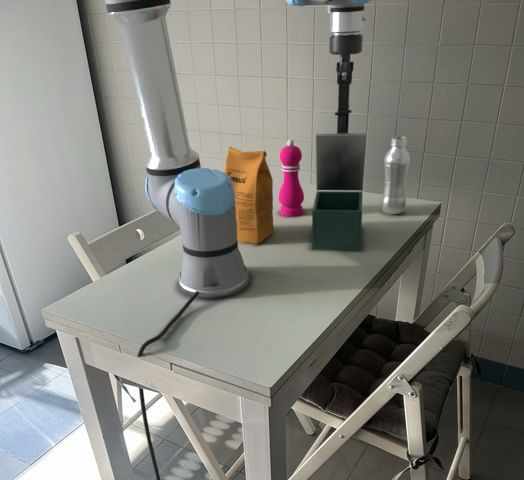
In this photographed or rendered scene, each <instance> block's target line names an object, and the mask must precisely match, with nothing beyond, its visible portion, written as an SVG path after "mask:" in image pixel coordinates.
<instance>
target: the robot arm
mask: <svg viewBox="0 0 524 480" xmlns="http://www.w3.org/2000/svg"><path fill="white" fill-rule="evenodd" d="M371 1H372V0H285V2H286V3H287V4H288V5H289V6H291V7H301V8H302V7H303V8H304V7H307V6H330V7H329V33H331V34H332V35H330V36H329V49H328V50H329V54H330V55H334V56H337V55H339V56H340V57H339V61H337V62H336V64H335V65H336V69H335V72H336V84H337V85H338V99H337V102H338V103H337V111H335V112H334V116H337V119H336V121H337V125H336V134H343V133H349V122H350V114H352V109H350V89H351V88H350V87H351V86H350V85H351V84H352V83H353V72H354V68H355V67H354V66H355V65H354V64H355V62H354V61H351V55H358V54H360V53H362V51H363V44H364V43H363V41H364V36H363V34H362V33H361V32H362V31H363V30H364V21H365V22H366V21H367V15H364V13H365V4H368V3H370V2H371ZM104 2H105V6H106V11H107V14H108V16H109V17H110V18H112V19H113V20H114V21H115V22H117V24H118V26H119V30H120V34H121V38H122V42H123V46H124V51H125V54H126V60H127V64H128V68H129V71H130V75H131V80H132V85H133V88H134V93H135V96H136V97H135V98H136V101H137V106H138V109H139V113H140V118H141V122H142V127H143V131H144V135H145V139H146V145H147V147H148V152H149V156H148V158H147V159H146V161H145V163H144V166H145V170H146V174H147V176H145V184H144V189H145V195H146V197H147V199H148V201H149V203H150V205H151V206H152V207H153V208H154V210H156V211H157V213H159V214H160V215H162V216H164V217H165V218H167V219H168V220H170V221H171V222H172V223H175V224H176V225H177V226H178V227H179V228H180V236H181V237H180V238H181V243H182V251H183V254H182V258H181V259H182V260H181V268H180V271H179V275H178V282H179V283H178V284H179V289H180V290H181V291H182V292H183V293H184V294H186V295H187V296H190V298H189V299H188V300H187V302H185V304H184V305H183V306H182V308H181V309H180V310H179V311H178V312H177V313H176V314H175V315H174V316H173V318H171V319H170V321H169V322H168V323H167V324H166V325H165V327H164V328H163V329H162V330H161V331H160V332H159V333H158V334H157V335H155V336H154V337H152V338H150V339H148V340H146V341H144V343H143V344H142V345H141V346H140V348H139V350H138V352H137V355H136V357H137V358H140V357H142V356H143V355H144V352H145V349H146V348H147V347H148V346H149V345H151V344H153V343H156V342H157V341H159V340H160V339H162V337H164V336H165V335H166V333H167V332H168V331H169V329H170V328H171V327H172V326H173V325H174V323H176V321H178V319H179V318H180V317H181V316H182V315H183V314H184V313H185V311H186V310H187V309H188V308H189V307H190V305H191V304H192V303H193V302H194V300H196V299H197V298H198V299H208V300H209V299H212V300H213V299H222V298H227V297H230V296H233V295H235V294H239V292H241V291H243V290H244V289H245V288H246V287H247V286H248V285H249V281H250V280H249V279H250V278H249V270H248V267H247V266H246V264H245V262H244V258H243V256H242V253H241V251H240V249H239V241H238V240H237V224H236V210H235V192H234V188H233V183H232V180H231V179H230V177H229V176H228V175H226V174H225V172H223V171H221V170H218V169H214V168H213V169H210V168H209V167H208V168H207V167H205V168H204V167H202V166H201V161H200V156H199V153H198V152H197V151H195V150H194V149H193V148H191V145H190V140H189V135H188V131H187V124H186V119H185V115H184V109H183V105H182V99H181V94H180V89H179V84H178V78H177V73H176V68H175V62H174V57H173V51H172V47H171V42H170V41H171V40H170V36H169V32H168V25H167V21H166V15H167V13H168V12H169V9H170V8H171V6H172V3H171V0H104ZM138 392H139V402H140V409H141V415H142V422H143V426H144V432H145V437H146V441H147V445H148V449H149V454H150V458H151V462H152V466H153V470H154V474H155V475H154V476H155V479H156V480H162V479H161V476H160V471H159V467H158V463H157V458H156V455H155V450H154V445H153V442H152V437H151V433H150V427H149V422H148V417H147V410H146V401H145V394H144V393H145V392H144V389H143V388H142V387H140V386H138Z"/></svg>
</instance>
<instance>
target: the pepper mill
mask: <svg viewBox="0 0 524 480" xmlns="http://www.w3.org/2000/svg"><path fill="white" fill-rule="evenodd" d="M286 144H287V145H285V146H284V147H282V148H281V150H280V152H279V161H280V162H281V163H282V164H281V171H282V172H283V181H282V185H281V187H280V189H279V192H278V202H279V203H280V214H281V215H282V216H284V217H297V216H300V215H302V214H303V205H302V203H303V202H304V201H305V193H304V190H303V188H302V185H301V182H300V179H299V171H300V170H301V168H300V167H301V164H300V162H301V161H302V159H303V153H302V150H301V149H300V147H298V146H296V145H295V142H294V140H293V139H288V140H287V141H286Z"/></svg>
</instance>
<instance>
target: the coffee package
mask: <svg viewBox="0 0 524 480" xmlns="http://www.w3.org/2000/svg"><path fill="white" fill-rule="evenodd" d="M225 158H226V159H225V168H224V173H225V174H226V175H228V176H229V177H230V179H231V180H232V183H233V188H234V192H235V210H236V224H237V240H238V242H240V243H244V244H245V243H246V244H254V245H255V244H256V245H257V244H260V243H262V242H263V241H264V240H266V239H267V238H268V237H271V236H272V235H273V233H274V232H275V229H274V214H273V209H274V204H273V203H274V191H273V189H274V187H273V185H274V179H273V177H272V174H271V171H270V168H269V164H268V163H267V160H266V158H267V152H266V150H257V151H242V150H239V149H237V148H235V147H232V146H229V147H228V149H227V155H226V157H225Z"/></svg>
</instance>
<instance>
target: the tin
mask: <svg viewBox="0 0 524 480" xmlns="http://www.w3.org/2000/svg"><path fill="white" fill-rule="evenodd" d="M362 223H363V190H316V193H315V197H314V202H313V205H312V210H311V250H314V251H315V250H319V251H326V250H327V251H361V241H362Z"/></svg>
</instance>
